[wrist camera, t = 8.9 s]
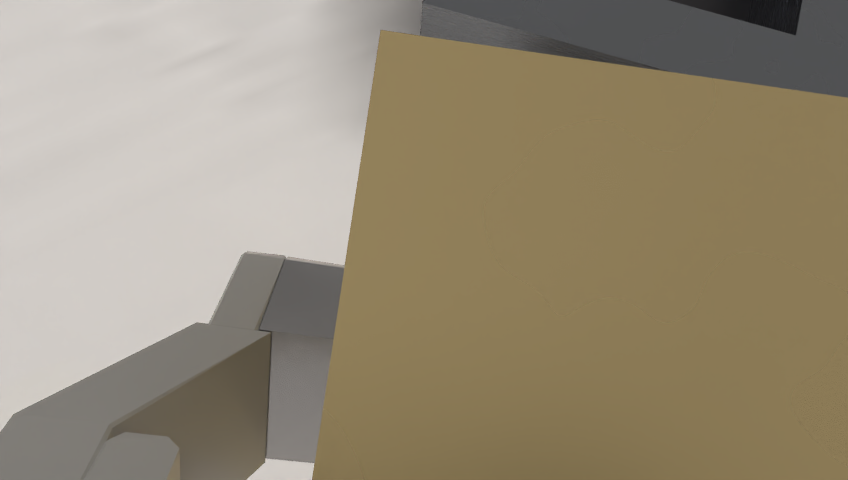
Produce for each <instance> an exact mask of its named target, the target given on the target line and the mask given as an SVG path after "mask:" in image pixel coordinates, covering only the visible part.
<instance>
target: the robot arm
mask: <svg viewBox="0 0 848 480" xmlns="http://www.w3.org/2000/svg"><path fill="white" fill-rule="evenodd" d="M344 267H345V265H339V264H333V263H326V262H320V261H313V260H306V259H300V258H293V257H287V258H286V257H285V256H283V255H275V254H267V253H258V252H250V251H247V252H245V253H244V254H243V255H241V257H240V259H239V262H238V264H237V266H236V268H235V270H234V272H233V274H232V276H231V278H230V280H229V282H228V284H227V286H226V289H225V291H224V293H223V295H222V297H221V299H220V301H219V303H218V305H217V307H216V309H215V311H214V314H213V316H212V318H211V320H210V322H209V324H205V323H195V324H193V325H191V326H189V327H187V328H185V329H183V330H181V331H179V332H177V333H175V334H173V335H171V336H169V337H167V338H165V339H163V340H161V341H159V342H157V343H155V344H153V345H151V346H149V347H147V348H145V349H143V350H141V351H139V352H137V353H135V354H133V355H131V356H129V357H127V358H125V359H123V360H121V361H119V362H117V363H115V364H113V365H111V366H109V367H107V368H105V369H103V370H101V371H99V372H97V373H95V374H93V375H91V376H89V377H87V378H85V379H83V380H81V381H79V382H77V383H75V384H73V385H71V386H69V387H67V388H65V389H63V390H61V391H59V392H57V393H55V394H53V395H51V396H49V397H47V398H45V399H43V400H41V401H39V402H37V403H35V404H33V405H31V406H29V407H27V408H25V409H23V410H21V411H19V412H17V413H15V414H13V416H12V417H11V418H10V420H9V421H8V423H7V424H6V425H5V427H4V428H3V429H2V431H1V432H0V480H246V479H247V478H248V477H249V476H251V475H252V474H253V473H254V472H255V471H256V470H257V469H258V468H259V467H260V466H261V465H262V464H264V463H265V458H267V459H278V460H288V461H299V462H309V463H315V457H316V451H317V444H318V438H319V431H320V425H321V418H322V412H323V405H324V398H325V392H326V385H327V379H328V372H329V366H330V359H331V353H332V346H333V339H334V333H335V326H336V320H337V313H338V307H339V300H340V294H341V287H342V281H343V274H344Z"/></svg>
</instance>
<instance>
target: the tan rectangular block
mask: <svg viewBox="0 0 848 480" xmlns="http://www.w3.org/2000/svg"><path fill="white" fill-rule="evenodd" d="M312 480H848V98H847V97H840V96H833V95H826V94H819V93H812V92H805V91H798V90H791V89H784V88H778V87H771V86H764V85H757V84H750V83H743V82H736V81H729V80H722V79H715V78H709V77H702V76H695V75H688V74H681V73H674V72H667V71H660V70H653V69H646V68H639V67H633V66H626V65H619V64H612V63H605V62H598V61H591V60H584V59H577V58H570V57H563V56H557V55H550V54H543V53H536V52H529V51H522V50H515V49H508V48H501V47H494V46H487V45H481V44H474V43H467V42H460V41H453V40H446V39H439V38H432V37H425V36H418V35H411V34H405V33H398V32H391V31H384V30H381V32H380V38H379V45H378V51H377V58H376V64H375V71H374V77H373V84H372V91H371V97H370V104H369V110H368V117H367V123H366V130H365V136H364V143H363V150H362V156H361V163H360V169H359V176H358V182H357V189H356V195H355V202H354V208H353V215H352V222H351V228H350V235H349V241H348V248H347V254H346V261H345V267H344V274H343V281H342V287H341V294H340V300H339V307H338V313H337V320H336V326H335V333H334V339H333V346H332V353H331V359H330V366H329V372H328V379H327V385H326V392H325V398H324V405H323V412H322V418H321V425H320V431H319V438H318V444H317V451H316V457H315V464H314V470H313V477H312Z"/></svg>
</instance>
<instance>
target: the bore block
mask: <svg viewBox="0 0 848 480" xmlns="http://www.w3.org/2000/svg"><path fill="white" fill-rule="evenodd" d="M420 36H425V37H432V38H439V39H446V40H453V41H460V42H467V43H474V44H481V45H487V46H494V47H501V48H508V49H515V50H522V51H529V52H536V53H543V54H550V55H557V56H563V57H570V58H577V59H584V60H591V61H598V62H605V63H612V64H619V65H626V66H633V67H639V68H646V69H653V70H660V71H667V72H674V73H681V74H688V75H695V76H702V77H709V78H715V79H722V80H729V81H736V82H743V83H750V84H757V85H764V86H771V87H778V88H784V89H791V90H798V91H805V92H812V93H819V94H826V95H833V96H840V97H847V98H848V0H423V7H422V20H421V33H420Z"/></svg>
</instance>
